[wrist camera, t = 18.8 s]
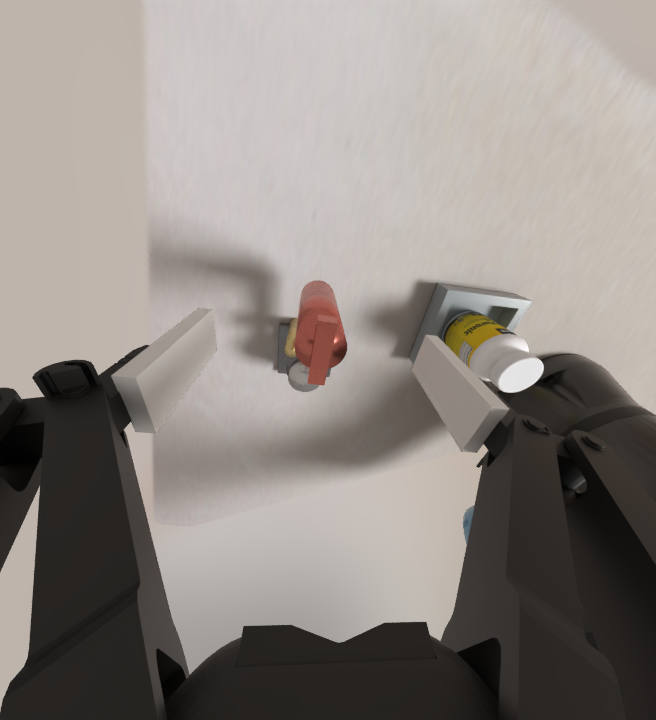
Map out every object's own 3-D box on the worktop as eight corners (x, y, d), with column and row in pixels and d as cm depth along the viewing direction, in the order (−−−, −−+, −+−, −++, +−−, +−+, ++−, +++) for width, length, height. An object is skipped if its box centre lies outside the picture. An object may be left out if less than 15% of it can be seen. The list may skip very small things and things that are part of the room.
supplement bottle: (489, 306, 27) (564, 347, 19) (478, 345, 30) (539, 395, 22) (443, 312, 28) (499, 356, 19) (437, 350, 31) (483, 402, 22)
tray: (515, 294, 27) (532, 301, 25) (475, 363, 33) (486, 373, 31) (437, 283, 26) (448, 289, 24) (408, 357, 32) (415, 367, 29)
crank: (318, 384, 28) (321, 471, 18) (288, 381, 27) (275, 469, 18) (340, 275, 21) (362, 327, 12) (300, 268, 20) (291, 316, 11)
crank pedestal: (338, 322, 28) (344, 349, 23) (328, 374, 32) (332, 407, 27) (280, 316, 27) (272, 343, 22) (278, 370, 32) (271, 403, 26)
